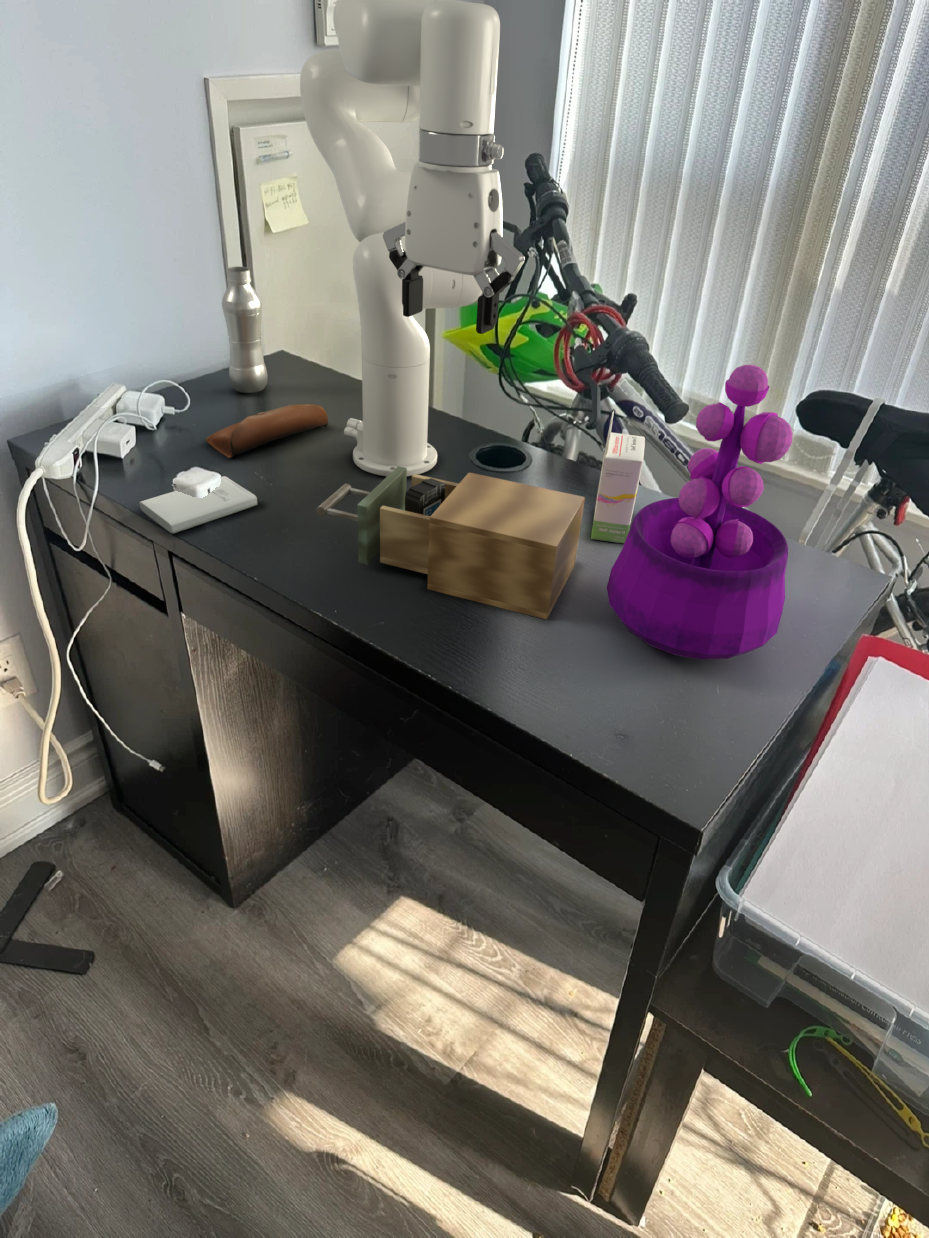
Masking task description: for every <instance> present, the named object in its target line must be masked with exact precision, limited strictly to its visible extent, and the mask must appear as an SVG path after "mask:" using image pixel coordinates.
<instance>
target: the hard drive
mask: <svg viewBox="0 0 929 1238" xmlns="http://www.w3.org/2000/svg"><path fill="white" fill-rule="evenodd" d="M219 477H220V478H221V484H220V486H219V487H216V488H215V490H213V491H212V492H210V493H209V494H208V495H207V496H205V497H203V498H197V497H192V496H190V495H187V494H184V493H182V492H178V491H177V490H173V491H171V492H166V493H164V494H161V495H158V496H154V497H151V498H148V499H144V500H141V501H139V508H140V511H141V512H142V514H144V515H146V516H147V517H148V518H149V519H150V520H152V521H153V522H155V523H156V524H158V526H160V527H162V529H164V530H165V531H167V532H168V533H169V534H171V535H174V534H177V533H179V532H183V531H186V530H188V529H191V528H194V527H197V526H200V525H203V524H206V523H210V522H213V521H214V520H217V519H220V518H224V517H226V516H230V515H233V514H235V513H238V512H241V511H244V510H248V509H250V508H253V507H255V506H258V497H257V495H255V494H254V493H252V492H251V491H249V490H248V489H247V488H245V487H243V486H241V485H240V484H238V483H237V482H235V481H234V480H232V479H230V478H229V477H228V476H225V475H222V476H219Z"/></svg>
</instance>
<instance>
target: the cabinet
mask: <svg viewBox="0 0 929 1238" xmlns="http://www.w3.org/2000/svg"><path fill="white" fill-rule="evenodd" d="M585 500H586V496H581V495H577V494H573V493H568V492H564V491H559V490H554V489H549V488H545V487H541V486H535V485H530V484H526V483H521V482H516V481H511V480H507V479H502V478H497V477H493V476H488V475H483V474H479V473H473V472H468V473H467V474H466V475H465V476H464V477H463V479H462V480H461V481H460V482H459V483H458V485H457V487H456V488H455V489H454V490H453V491H452V492H451V493H450V495H449V496H448V497H447V498H446V499H445V500H444V501H443V503H442V504H441V505H440V506H439V507H438V508H437V509H436V511H435V512H434V513H433V514H432V515H431V516H430V521H429V523H430V524H429V553H428V574H427V583H426V584H427V588H426V589H427V590H428V591H432V592H436V593H440V594H443V595H448V596H452V597H457V598H459V599H460V598H461V599H465V600H466V601H467V600H468V601H472V602H475V603H480V604H484V605H487V606H492V607H496V608H498V609H499V608H500V609H503V610H507V611H511V612H514V613H519V614H523V615H527V616H530V617H535V618H539V619H542V620H548V619H549V616H550V614H551V612H552V610H553V609H554V607H555V605H556V603H557V601H558V599H559V597H560V596H561V593H562V591H563V589H564V587H565V585H566V584H567V581H568V579H569V578H570V576H571V574H572V572H573V570H574V568H575V566H576V559H577V552H578V547H579V540H580V533H581V526H582V520H583V513H584V506H585Z"/></svg>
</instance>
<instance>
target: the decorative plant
mask: <svg viewBox="0 0 929 1238" xmlns="http://www.w3.org/2000/svg"><path fill="white" fill-rule="evenodd" d="M768 383H769V378H768V375H767V372H766V371H765V370H764V369H763V368H762V367H760V366H759V365H755V364H743V365H740V366H738V367H736V368H735V369H734V370H733V371H732V372H731V373H730V375H729V378H728V379H726V380H725V382H724V392H725V394H726V398H727V399H728V400H729V401H730V402H731V403H732V404H734V405H736V407H735V410H734V412H732V410H731V408H730V406H728V405H726V404H724V403H722V402H721V401H720V402H717V403H712V404H708V405H705V406H703V407H702V408H701V409H700V410H699V412H698V415H697V416H696V422H695V428H696V430H697V432H698V433H699V434H700V435H701V436H702V437H703V438H704V440H705V441H707V442H717V441H720V440H721V442H720V444H719V449H718V450H717V449H715V448H711V447H703V448H701V449H698V450H696V451H695V452H694V453H693V454H692V455H691V457H690V458H689V460H688V462H687V471H688V473H689V478H690V480H689V481H687V482H685V483H684V484H683V485H682V487H681V488H680V490H679V493H678V497H672V498H665V499H660V500H657V501H653V502H651V503H649V504H647V505H645V506H643V507H642V508H641V509H639V510H638V512H637V513H636V514H635V516H634V517H633V518H632V521H631V524H630V529H629V532H628V535H627V538H626V540H625V543H623V546H622V548H621V550H620V551H619V554H618V556H617V558H616V560H615V561H614V563H613V565H612V566H611V569H610V572H609V576H608V580H607V583H606V594H607V601H608V605H609V606H610V608H611V609H612V610H613V612H614V613H615V614H616V616H617V617H618V619H619V620H620V621H621V623H622V624H623V625H624V627H626V629H627V630H628V631H629V632H630V633H631V634H632V635H633V636H635V637H637V638H638V639H640V640H641V641H642V642H644V643H646V644H647V645H648V646H651V647H653V648H656V649H658V650H660V651H664V652H666V653H668V654H671V655H674V656H678V657H683V658H688V659H695V660H701V661H702V660H703V661H704V660H728V659H731V658H734V657H737V656H740V655H743V654H744V655H745V654H747V653H749V652H752V651H754V650H756V649H759V648H761V647H763V646H764V645H765V644H767V642H769V641H770V640H771V639H772V638H773V637H774V636H775V635H776V634H777V633H778V631H779V626H780V622H781V619H782V615H783V610H784V606H785V601H786V570H787V564H788V559H789V545H788V541H787V539H786V537H785V536H784V534H783V532H782V531H781V530H780V529H779V528H778V527H777V526H776V525H775V524H774V523H772V522H770V521H769V520H768V519H766V518H765V517H763V516H761V515H760V514H758V513H756V512H754V511H751V510H749V509H747V507H749V506H751V505H753V504H754V503H755V502H756V501H758V500H759V498H760V497H761V496H762V494H763V491H764V489H765V487H764V485H765V484H764V480H763V479H762V476H761V475H760V473H758V472H757V470H755V469H753V468H752V467H749V466H747V465H745V466H742V465H741V466H738V463H739V459H740V455H741V452H742V454H743V455H744V456H745V457H746V458H747V460H749V461H752V462H754V463H755V464H759V465H763V464H765V463H774V462H776V461H780V460H781V459H782V458H783V457H784V456H785V455H786V454H787V453H788V452H789V450H790V448H791V446H792V443H793V436H794V435H793V434H794V432H793V429H792V427H791V424H789V422H788V421H787V420H786V419H785V418H783V417H780V416H779V415H778V413H776V412H773V411H771V412H770V411H767V412H766V411H762V412H760V413H757V414H755V415H753V416H752V417H750V419H748V420H747V421H746V422H745V414H746V408H749V407H752V406H755V405H758V404H759V405H760V404H761V402H762V401H763V400H765V398H766V396H767V395H768V392H769V389H770V386H769V384H768Z"/></svg>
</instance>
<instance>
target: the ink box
mask: <svg viewBox="0 0 929 1238" xmlns="http://www.w3.org/2000/svg"><path fill="white" fill-rule="evenodd" d="M614 413H615V411H614V410H613V411H612V412H611V417H610V421H609V427H608V432H607V437H606V443H605V447H604V453H603V458H602V464H601V468H600V469H601V471H600V475H599V481H598V487H597V494H596V501H595V507H594V514H593V515H594V516H593V522H592V528H591V535H590V536H591V537H590V539H591V540H596V541H603V542H609V543H610V542H611V543H616V544H617V543H619V544H624V543H625V540H626V538H627V535H628V532H629V530H630V527H631V524H632V520H633V513H634V508H635V503H636V498H637V494H638V490H639V483H640V479H641V473H642V469H643V463H644V456H645V445H646V438H645V436H641V435H635V434H627V433H618V432H612V427H613V420H614Z"/></svg>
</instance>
